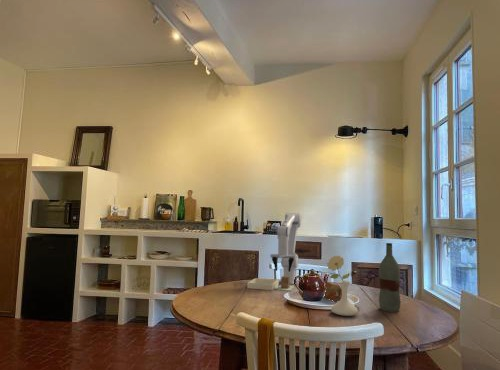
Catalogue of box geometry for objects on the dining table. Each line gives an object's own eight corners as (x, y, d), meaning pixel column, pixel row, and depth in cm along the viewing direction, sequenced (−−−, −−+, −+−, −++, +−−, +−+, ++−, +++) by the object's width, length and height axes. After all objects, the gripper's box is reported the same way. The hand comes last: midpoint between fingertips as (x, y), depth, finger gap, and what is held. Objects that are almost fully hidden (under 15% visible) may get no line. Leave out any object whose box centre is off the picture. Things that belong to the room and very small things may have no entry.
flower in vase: (355, 311, 162) (355, 254, 164) (360, 318, 151) (360, 257, 153) (325, 310, 163) (325, 253, 165) (328, 317, 152) (328, 256, 154)
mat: (280, 285, 215) (280, 285, 215) (294, 286, 213) (294, 286, 213) (276, 289, 204) (276, 289, 204) (290, 291, 201) (290, 290, 201)
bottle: (387, 312, 161) (386, 244, 163) (374, 307, 169) (374, 242, 172) (405, 311, 163) (404, 244, 165) (392, 306, 172) (391, 242, 174)
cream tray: (255, 283, 222) (255, 278, 222) (278, 285, 217) (278, 279, 217) (247, 288, 207) (247, 282, 207) (272, 290, 202) (272, 284, 203)
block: (282, 286, 211) (282, 276, 211) (289, 287, 209) (289, 276, 210) (281, 288, 207) (281, 277, 207) (288, 288, 206) (288, 277, 206)
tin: (319, 296, 189) (319, 280, 190) (324, 296, 190) (324, 280, 191) (338, 303, 175) (338, 285, 176) (343, 303, 177) (343, 285, 177)
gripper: (269, 247, 209) (268, 271, 208) (294, 248, 205) (294, 272, 204) (272, 246, 216) (271, 269, 215) (296, 247, 212) (296, 270, 211)
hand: (282, 270), depth 210 cm, fingers open, 7 cm apart
